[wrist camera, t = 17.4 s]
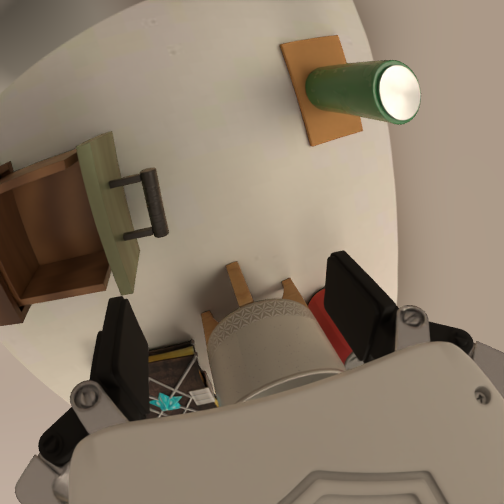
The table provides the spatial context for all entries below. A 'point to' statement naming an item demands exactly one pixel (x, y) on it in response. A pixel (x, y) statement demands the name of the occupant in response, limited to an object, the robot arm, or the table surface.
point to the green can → (366, 90)
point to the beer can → (333, 332)
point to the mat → (300, 66)
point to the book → (178, 382)
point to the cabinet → (3, 304)
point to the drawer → (73, 224)
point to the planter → (266, 345)
